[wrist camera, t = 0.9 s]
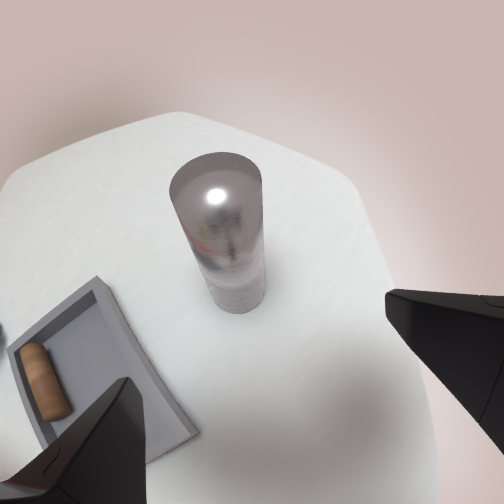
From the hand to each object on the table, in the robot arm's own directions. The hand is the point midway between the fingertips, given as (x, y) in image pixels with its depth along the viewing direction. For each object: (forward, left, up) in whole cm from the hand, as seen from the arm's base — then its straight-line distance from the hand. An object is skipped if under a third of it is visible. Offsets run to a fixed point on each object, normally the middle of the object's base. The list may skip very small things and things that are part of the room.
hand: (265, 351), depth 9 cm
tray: (+8, +14, -14) cm, 21 cm away
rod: (+10, +17, -13) cm, 24 cm away
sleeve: (+8, -3, -14) cm, 16 cm away
